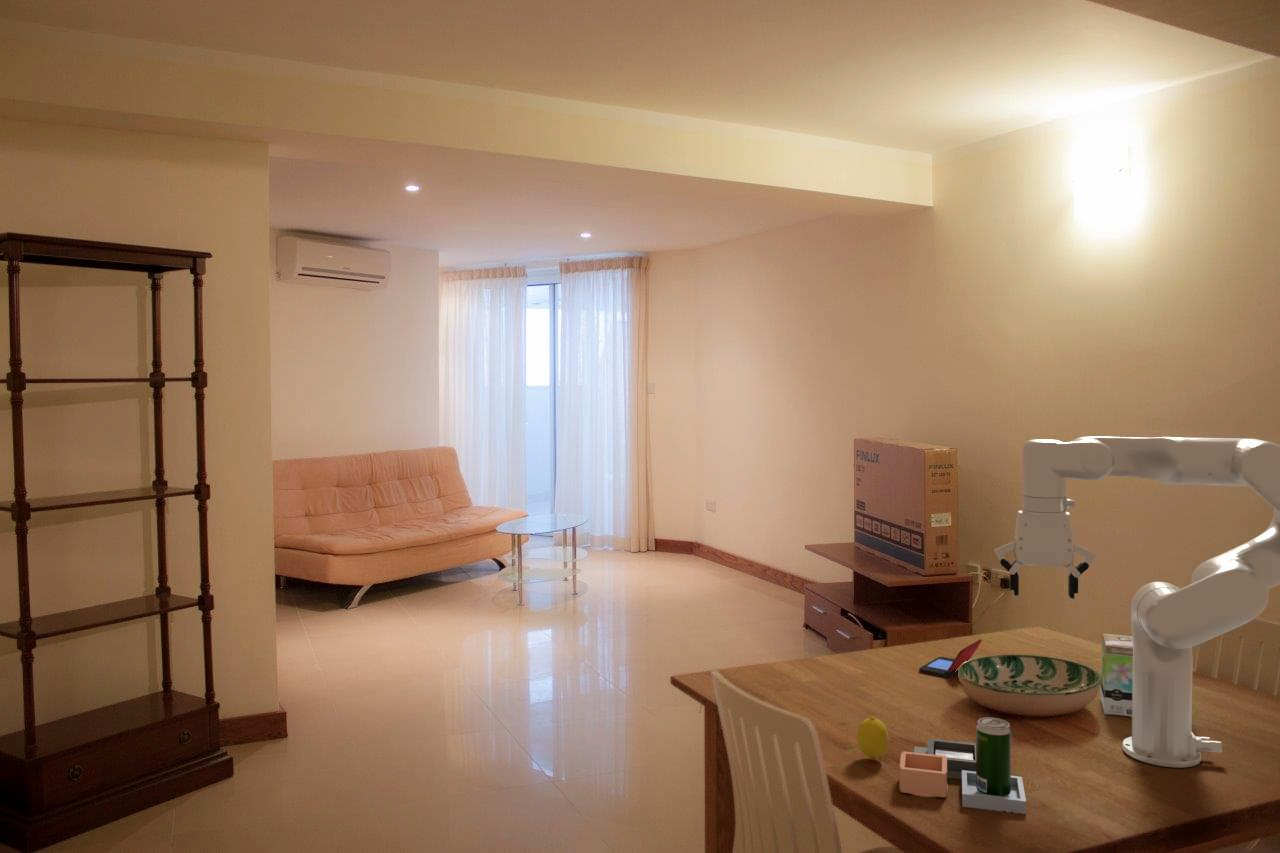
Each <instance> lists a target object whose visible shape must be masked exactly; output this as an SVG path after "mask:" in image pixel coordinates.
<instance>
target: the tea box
mask: <svg viewBox="0 0 1280 853" xmlns="http://www.w3.org/2000/svg"><path fill="white" fill-rule="evenodd" d="M1100 652H1101V658H1100V681H1101V685H1100V693H1099V699H1100V700H1099V701H1100V702H1101V706H1102V709H1103V714H1104V715H1115V716H1124V717H1131V718H1132V676H1133V638H1132V635H1123V634H1112V633H1102V635H1101V650H1100Z"/></svg>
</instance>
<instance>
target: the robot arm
mask: <svg viewBox="0 0 1280 853" xmlns="http://www.w3.org/2000/svg"><path fill="white" fill-rule="evenodd" d="M1110 476H1111V477H1129V478H1138V479H1145V480H1152V481H1155V482H1158V483H1161V484H1167V485H1168V484H1171V485H1179V486H1180V485H1181V486H1213V487H1215V486H1217V487H1219V486H1222V487H1244V488H1246V487H1247V488H1249V489H1251V490H1253V491H1254V493H1256V494H1257V495H1258V496H1260V498H1261V499H1263V501H1265V502H1266V503H1267V504H1268V505H1269V506H1270V507H1272V508H1273V515H1272V519H1271V521H1270V524H1269V526H1268V527H1267V528H1266V529H1265V530H1264V531H1263V532H1262V533H1259V535H1258V536H1255V537H1253V539H1250V540H1249V541H1246V542H1245V543H1243V544H1241V545H1238V546H1236V547H1234V548H1231V549H1230V550H1227V551H1225V552H1223V553H1221V554H1218V555H1216V556H1213V557H1212V558H1209V559H1207V560H1205V561H1203V562H1201V563H1200V564H1199V565H1198V566H1196V568H1195V569H1194V570H1193V572H1192V574H1191V583H1190V584H1188V585H1186V586H1183V587H1182V588H1180V587H1178V586H1176V585H1175V584H1172V583H1169V582H1165V581H1152V582H1151V581H1150V582H1149V583H1146V584H1144V585H1142V586H1141V587H1140V588H1138V589H1137V590H1136V592H1135V593H1134V594H1133V597H1132V600H1131V604H1130V622H1131V633H1132V635H1131V636H1132V638H1133V676H1132V717H1131V736H1129V737H1126V738H1124V739H1123V740H1122V744H1121V747H1122V750H1123V751H1124V753H1125V754H1127V755H1128V756H1129V757H1131V758H1133V759H1135V760H1138V761H1139V762H1142V763H1146V764H1150V765H1154V766H1157V767H1166V768H1176V769H1178V768H1181V769H1183V768H1191V767H1194V766H1197V765H1198V764H1200V763H1201V761H1202V754H1201V753H1202V752H1203V751H1207V752H1210V753H1219V754H1220V753H1223V743H1222V741H1217V740H1211V737H1208V736H1196V735H1195V734H1194V732H1193V731H1192V726H1193V725H1192V723H1193V722H1192V716H1193V710H1192V709H1193V706H1192V705H1193V669H1194V667H1193V666H1194V665H1193V663H1194V661H1193V647H1195V646H1198V645H1201V644H1203V643H1205V642H1207V641H1210V640H1212V639H1214V638H1216V637H1219V636H1221V635H1223V634H1226V633H1228V632H1231V631H1232V630H1235V629H1237V628H1239V627H1241V626H1244V625H1245V624H1247V623H1249V622H1251V621H1253V620H1255V619H1256V618H1258V617H1259V616H1260V615H1261V614H1262V613H1263V611H1264V610H1265V609H1266V607H1267V605H1268V602H1269V600H1270V592H1269V590H1271V589H1273V588H1275V587H1277V586H1279V585H1280V444H1278V443H1275V442H1272V441H1269V440H1263V439H1258V438H1246V437H1245V438H1243V437H1242V438H1241V437H1239V438H1235V437H1233V438H1232V437H1231V438H1230V437H1184V436H1183V437H1181V436H1180V437H1179V436H1175V437H1174V436H1172V437H1171V436H1161V437H1160V436H1159V437H1157V436H1156V437H1133V436H1132V437H1131V436H1130V437H1127V436H1123V437H1122V436H1121V437H1120V436H1080V437H1077V438H1074V439H1073V440H1071V441H1067V442H1063V441H1061V440H1058V439H1052V438H1051V439H1047V438H1039V439H1037V438H1036V439H1030V440H1026V441H1025V442H1024V443H1023V445H1022V492H1021V494H1022V495H1021V496H1022V498H1021V499H1022V506H1021V507H1022V510H1018V511H1017V515H1016V521H1015V528H1014V539H1013V541H1010V542H1008V543H1006V544H1004V545H1003V544H1002V545H1001V546H999V547H997V548H995V549H994V554H995V556H996V557H997V560H998V562H999V563H1000V566H1002V567H1003V568H1004V569H1005V570H1006V571H1007V572H1008V573H1009V590H1010V591H1013V595H1014V596H1016V597H1018V596H1019V594H1020V593H1019V584H1020V582H1019V581H1020V580H1019V578H1020V576H1019V572H1018V571H1019V570H1020V569H1021V568H1022V567H1023V566H1030V567H1031V566H1033V567H1053V568H1054V567H1055V568H1057V567H1058V568H1063V567H1064V568H1066V569H1067V570H1068V571H1069V575H1068V577H1067V579H1068V583H1067V584H1068V586H1067V587H1068V588H1067V589H1068V591H1067V592H1068V597H1069V598H1070V599H1072V600H1073V599H1075V594H1079V578H1080V577H1081V576H1082V574H1084V572H1086V571H1087V570H1088V569H1089V568H1090V565H1091V564H1092V562H1093V561H1094V559H1095V558H1096V555H1095V553H1093V552H1092V551H1090V550H1088V549H1086V548H1085V547H1082V546H1080V545H1078V544H1076V543H1075V542H1074V532H1073V525H1072V524H1073V522H1072V518H1071V514H1070V512H1068V511H1067V509H1069V508H1074V507H1075V503H1076V502H1075V499H1070V498H1068V497H1067V479H1074V480H1079V481H1088V482H1090V481H1091V482H1095V481H1100V480H1103V479H1104V478H1106V477H1110ZM1010 551H1013V553H1014V558H1015V560H1014V561H1013V562H1009V561H1008V560H1007V558H1006V557H1005V554H1006V553H1008V552H1010ZM1074 552H1075V553H1077V554H1079V555H1081V556H1083V557H1084V558H1083V560H1082V561H1081V562H1080V563H1078V565H1077V566H1075V565H1074V561H1075V559H1074V558H1075V554H1074Z"/></svg>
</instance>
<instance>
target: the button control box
mask: <svg viewBox="0 0 1280 853" xmlns="http://www.w3.org/2000/svg"><path fill="white" fill-rule="evenodd" d="M936 748H941V749H951V750H960V751H970V752H973V760H968V759H958V758H949V757H946V758H947V779H957V780H962V770H965V771H974V772H976V742H969V741H959V740H958V741H956V740H950V739H949V740H948V739H947V740H946V739H940V738H939V739H937V738H928V739H927V747H925V746H914V749H913V752H914V753H923V754H933V755H935V752H936Z"/></svg>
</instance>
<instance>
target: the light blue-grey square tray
mask: <svg viewBox="0 0 1280 853" xmlns="http://www.w3.org/2000/svg"><path fill="white" fill-rule="evenodd" d="M1026 798H1027V797H1026V793H1025V788H1024V781H1023V777H1022V776H1017V775H1011V792H1010V795H1009V797H1002V796H993V795H985V794H979V793H978V791H977V788H976V772H974V771H965V770H962V779H961V799H962V801H961V805H962V806H961V807H964V808H970V809H971V808H972V809H977V810H978V809H980V810H988V811H994V810H995V812H1003V811H1006V812H1005V813H1011V812H1013V813H1012V814H1019V813H1020V814H1021V815H1027V799H1026Z"/></svg>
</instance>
